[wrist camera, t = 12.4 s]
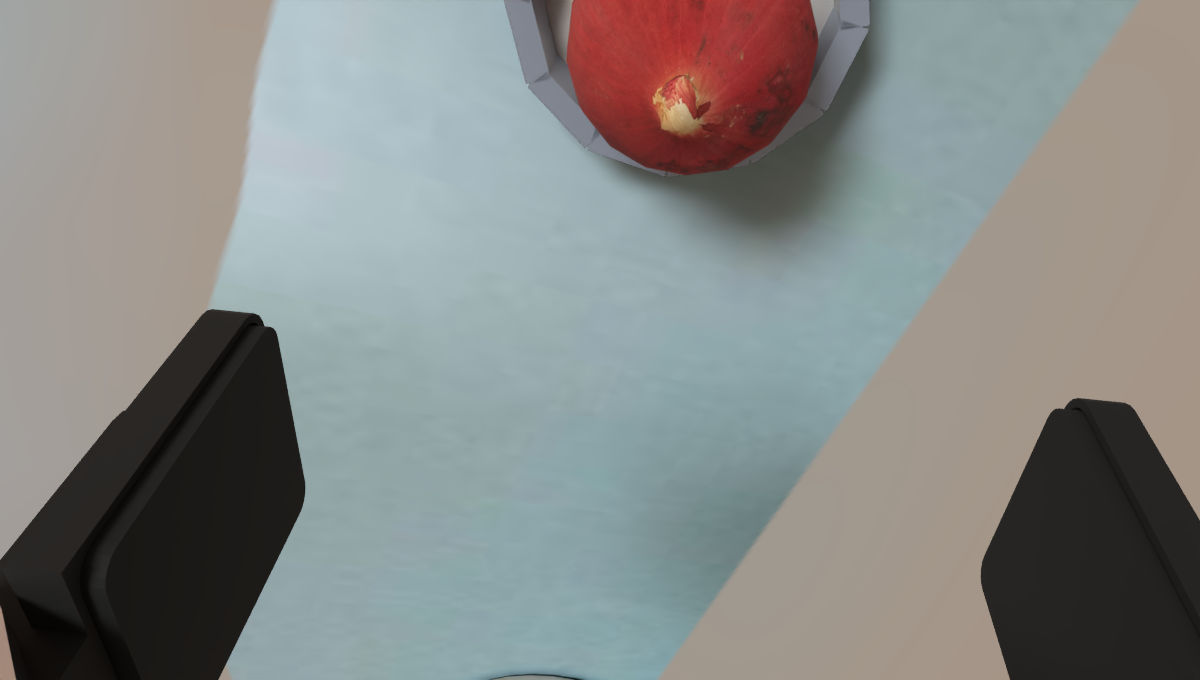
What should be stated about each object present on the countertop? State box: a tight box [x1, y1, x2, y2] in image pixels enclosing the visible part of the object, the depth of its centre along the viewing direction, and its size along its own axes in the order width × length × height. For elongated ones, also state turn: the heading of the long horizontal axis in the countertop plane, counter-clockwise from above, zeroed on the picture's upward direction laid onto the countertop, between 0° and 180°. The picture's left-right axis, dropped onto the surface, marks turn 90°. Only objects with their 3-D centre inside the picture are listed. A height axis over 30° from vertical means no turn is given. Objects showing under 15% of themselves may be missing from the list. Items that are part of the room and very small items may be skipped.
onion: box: [566, 0, 818, 175], centre depth 21 cm, size 6×6×8 cm
